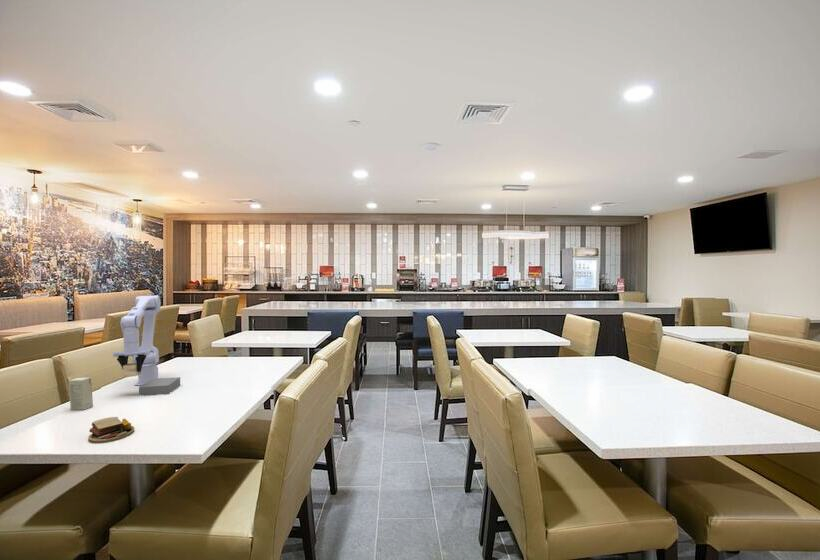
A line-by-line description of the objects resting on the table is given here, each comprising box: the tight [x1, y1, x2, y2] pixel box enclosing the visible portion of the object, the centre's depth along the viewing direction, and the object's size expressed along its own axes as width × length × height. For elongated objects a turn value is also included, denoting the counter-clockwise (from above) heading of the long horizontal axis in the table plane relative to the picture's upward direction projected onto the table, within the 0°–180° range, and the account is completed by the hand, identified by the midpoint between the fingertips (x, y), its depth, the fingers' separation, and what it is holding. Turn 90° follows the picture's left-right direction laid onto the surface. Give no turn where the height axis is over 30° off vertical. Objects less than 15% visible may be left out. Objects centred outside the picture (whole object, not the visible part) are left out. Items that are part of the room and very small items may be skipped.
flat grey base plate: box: [138, 376, 181, 396], centre depth 184 cm, size 14×12×4 cm
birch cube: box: [122, 362, 141, 378], centre depth 178 cm, size 5×5×5 cm
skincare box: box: [68, 377, 94, 411], centre depth 161 cm, size 6×4×12 cm
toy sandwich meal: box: [87, 416, 135, 443], centre depth 134 cm, size 12×14×5 cm
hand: (132, 371), depth 178 cm, fingers closed on birch cube, 5 cm apart
